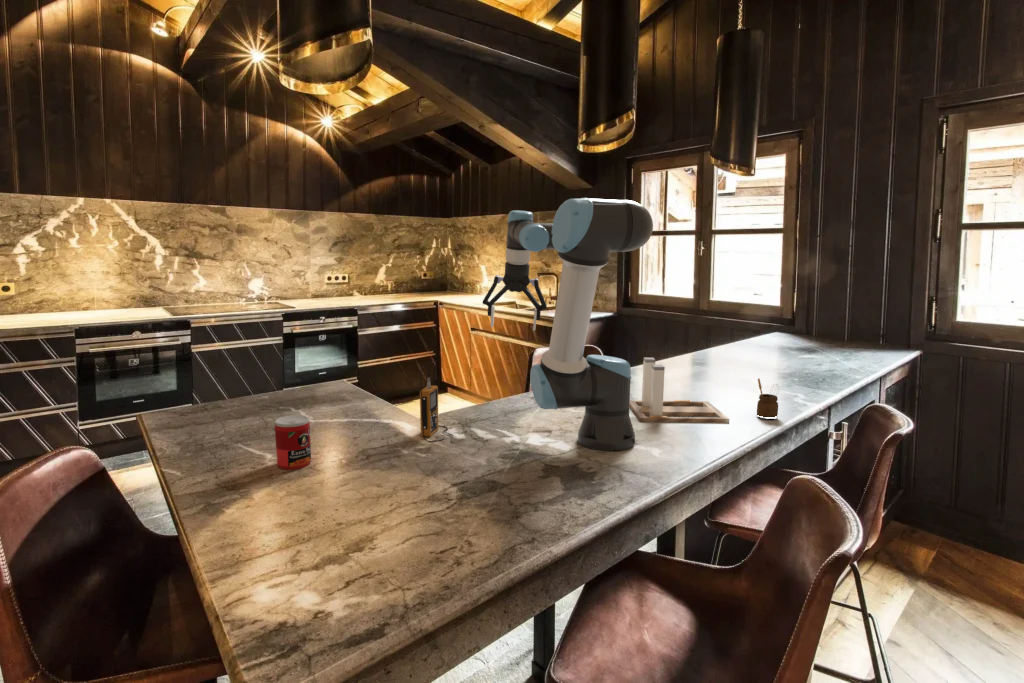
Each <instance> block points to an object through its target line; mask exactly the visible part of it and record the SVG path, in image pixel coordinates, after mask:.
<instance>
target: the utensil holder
mask: <svg viewBox="0 0 1024 683" xmlns="http://www.w3.org/2000/svg"><path fill="white" fill-rule="evenodd" d="M757 382H758V383H757V384H758V387H759V390H760V394H759V395H758V401H757V405H756V406H757V407H756V416H757V415H759V416H763V417H775V416H777V415H779V402H778V395H779V392H780V385H779V384H777V383H774V384H772V386H771V389H770V391H769V392H770V393H763V390H762V388H763V387H762V382H761V379H760V378H757ZM775 386H776V387H778V388H776V389H777V391H776V389H774V388H775ZM773 389H774V391H773ZM772 392H773V393H772ZM776 392H777V393H776ZM777 417H778V416H777Z"/></svg>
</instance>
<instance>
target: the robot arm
mask: <svg viewBox="0 0 1024 683" xmlns="http://www.w3.org/2000/svg"><path fill="white" fill-rule="evenodd" d="M653 222H654V221H653V218H652V215H651V213H650V211H649V210H648V209H647V208H646V207H644V205H642V204H640V203H638V202H636V201H634V200H629V199H604V198H590V197H589V198H588V197H581V198H569V199H566V200H565V201H564V202H563V203H562V204H560V205H559V207H558V209H557V211H556V212H555V215H554V218H553V221H552V222H534V214H533V212H532V211H527V210H511V211H509V213H508V218H507V222H506V224H507V228H506V248H505V261H506V262H504V263H505V264H504V276H500V275H498V274H495V276H494V278H493V282H492V284H491V286H490V287H489V290H488V291H487V292H486V294H485V297H484V298H483V300H482V304H483V305H486V306H487V316H488V317H490V328H493V327H494V324H495V308H496V307H495V306H496V305H495V303H496V302H498V300H499V299H500V298H501V297H502V296H503V295H504V294H505V293H506V292H509V291H510V292H511V293H513V292H516V293H523V294H524V295H525V296H526V297H527V298H528V300H529V301H530V302H531V304H532V305H533V306H534V312H533V325H532V331H536V329H537V328H536V327H537V321H540V319H541V311H542V310H546V309H547V306H548V305H547V302H546V300H545V298H544V295H543V293H542V290H541V287H540V285H539V284H540V283H539V278H537V277H535V278H532V279H530V276H529V275H530V265H531V264H530V261H531V252H534V253H537V252H538V253H539V252H540V251H543V250H555V251H557V256H558V258H559V259H560V260H561V262H562V267H561V273H560V280H559V287H558V290H557V291H558V292H557V298H556V304H555V311H554V317H553V321H552V329H551V335H550V341H549V347H548V350H546V351H545V352H543V353H542V355H541V360H540V364H539V363H536V364H533V365H532V366H531V368H530V373H529V375H530V376H529V377H530V378H529V379H530V386H531V387H530V388H531V390H532V396H533V398H534V401H535V403H536V404H537V405H538V407H540V408H541V409H543V410H560V409H569V408H581V407H585V409H584V411H585V412H584V415H583V418H582V421H581V424H580V426H579V429H578V432H577V442H578V443H579V444H580V445H581V446H583V447H585V448H587V449H592V450H593V449H594V450H598V451H607V452H608V451H609V452H610V450H611V451H612V450H617V451H623V450H622V449H625V450H628V449H631V448H632V446H633V445H634V444H636V435H635V431H634V427H633V424H632V420H631V416H630V406H629V405H630V401H631V398H630V397H631V381H632V380H631V379H632V373H631V372H632V371H631V369H632V368H631V364H630V362H628V361H627V360H625V359H623V358H620V357H616V356H610V355H602V354H601V355H600V354H588V355H587V356H586V357H584V352H585V346H586V342H587V337H588V332H589V331H588V330H589V326H590V321H591V317H592V311H593V305H594V301H595V296H596V290H597V286H598V285H597V284H598V281H599V276H600V271H601V269H602V268H604V267H605V266H607V265H608V263H609V260H610V255H611V253H620V252H621V253H624V252H625V253H626V252H632V251H635V250H638V249H640V248H641V247H643V246H645V244H647V243H648V241H649V240H650V239H651V237H652V234H653V231H654V223H653ZM502 282H503V283H504V286H503V287H502V289H500V290H499V291H498V292H497V294H495V295H494V296H493V297H492V298H491V296H492V294H493V292H494V291H495V288H496V287H497V286H498V284H500V283H502ZM530 284H531V286H532V287H534V290H535V292H536V294H537V297H538V300H539V302H540V303H539V302H538V300H537V298H535V296H534V295H533V294H532V292H531V290H530V289H529V287H528V285H530ZM490 298H491V299H490ZM489 299H490V300H489ZM634 446H635V445H634ZM634 446H633V447H634ZM630 447H631V448H630ZM627 448H628V449H627Z"/></svg>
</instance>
